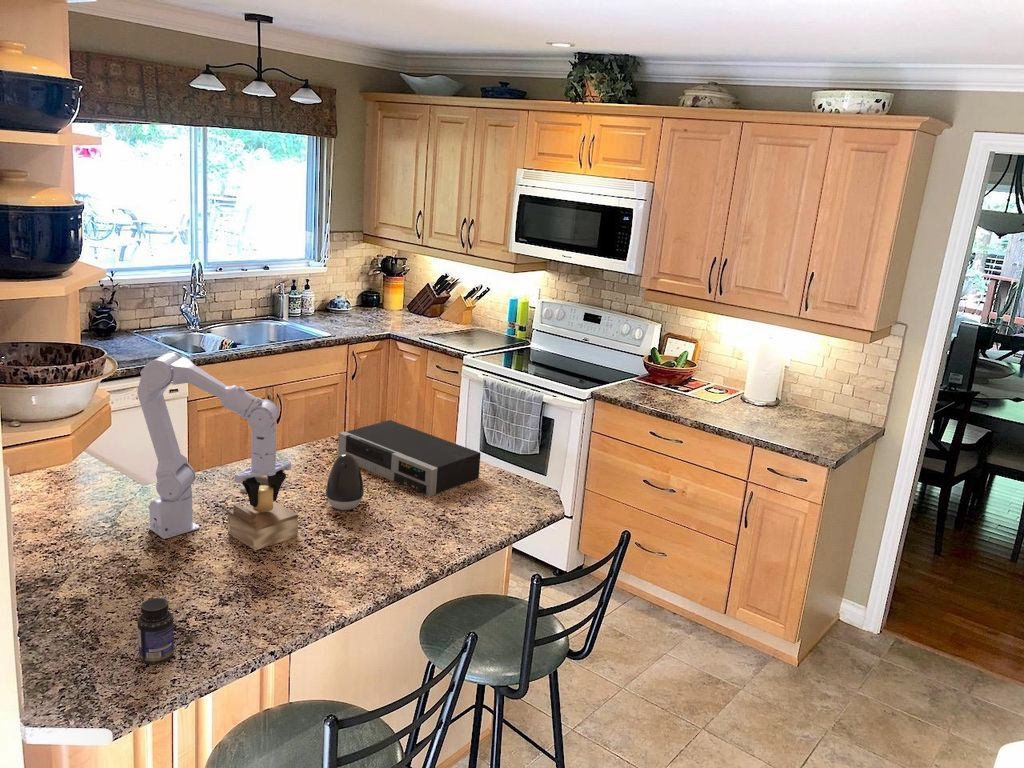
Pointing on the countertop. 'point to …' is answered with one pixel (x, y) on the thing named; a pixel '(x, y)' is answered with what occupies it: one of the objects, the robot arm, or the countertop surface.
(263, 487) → the cream bullet-shaped knob
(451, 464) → the vcr player
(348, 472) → the black egg-shaped device
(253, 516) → the lid
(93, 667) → the countertop surface
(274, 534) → the wooden box
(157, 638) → the pill bottle
